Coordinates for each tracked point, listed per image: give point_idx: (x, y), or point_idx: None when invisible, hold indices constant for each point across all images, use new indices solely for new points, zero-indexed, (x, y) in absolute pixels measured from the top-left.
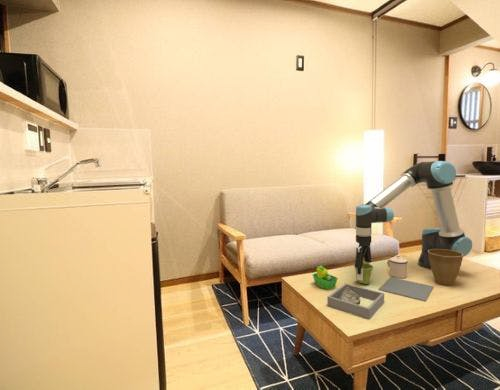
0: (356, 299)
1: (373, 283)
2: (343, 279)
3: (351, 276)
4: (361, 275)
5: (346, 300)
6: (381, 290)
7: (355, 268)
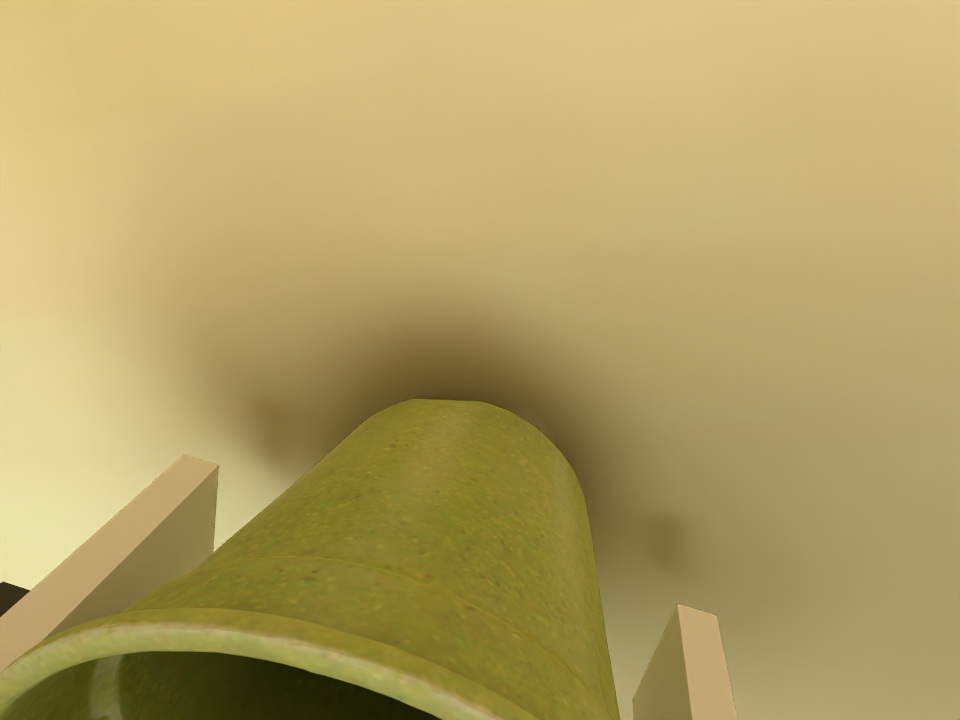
0: None
1: None
2: (474, 35)
3: (804, 216)
4: None
5: None
6: None
7: (147, 599)
